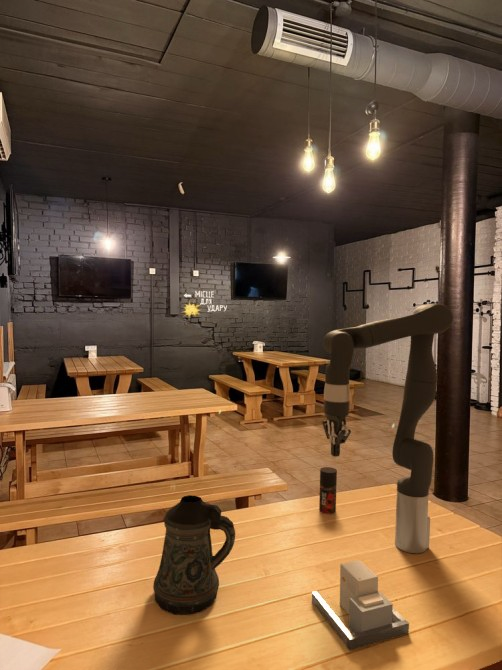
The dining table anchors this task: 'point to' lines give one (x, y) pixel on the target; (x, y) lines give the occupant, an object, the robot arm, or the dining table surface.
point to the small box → (355, 582)
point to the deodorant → (328, 490)
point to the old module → (369, 612)
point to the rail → (365, 637)
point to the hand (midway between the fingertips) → (335, 455)
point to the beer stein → (191, 557)
